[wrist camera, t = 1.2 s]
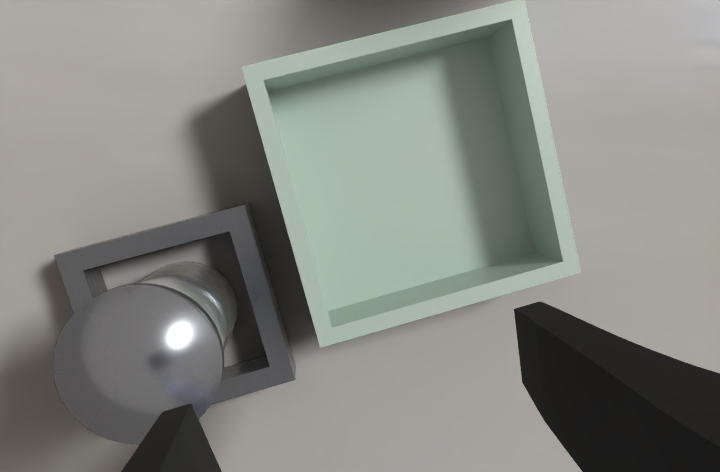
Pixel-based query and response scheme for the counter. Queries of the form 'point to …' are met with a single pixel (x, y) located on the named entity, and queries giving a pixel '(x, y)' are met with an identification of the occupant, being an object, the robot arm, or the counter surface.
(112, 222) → the counter surface
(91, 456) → the counter surface
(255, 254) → the socket collar
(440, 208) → the bin
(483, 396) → the counter surface
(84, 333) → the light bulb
